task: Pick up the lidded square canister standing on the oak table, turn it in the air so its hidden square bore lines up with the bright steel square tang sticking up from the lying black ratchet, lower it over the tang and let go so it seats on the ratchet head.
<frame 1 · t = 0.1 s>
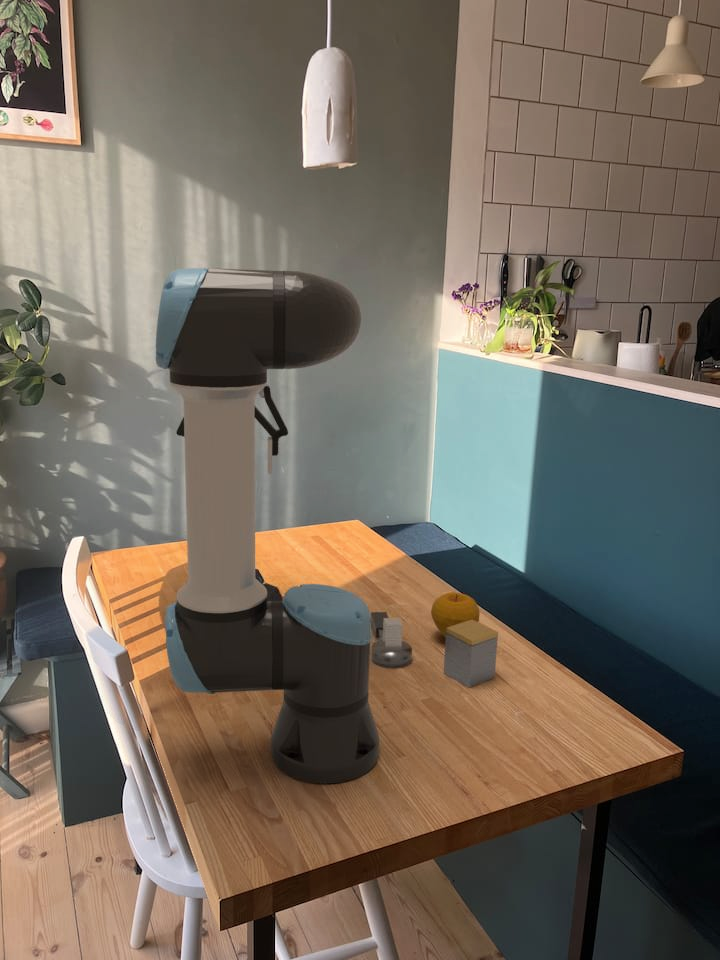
hand: (233, 472, 151), 28 cm above the table, fingers open, 13 cm apart
apple: (453, 640, 148), on the table
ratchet: (391, 658, 140), on the table
lidded square canister: (469, 675, 135), on the table
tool: (234, 649, 142), on the table
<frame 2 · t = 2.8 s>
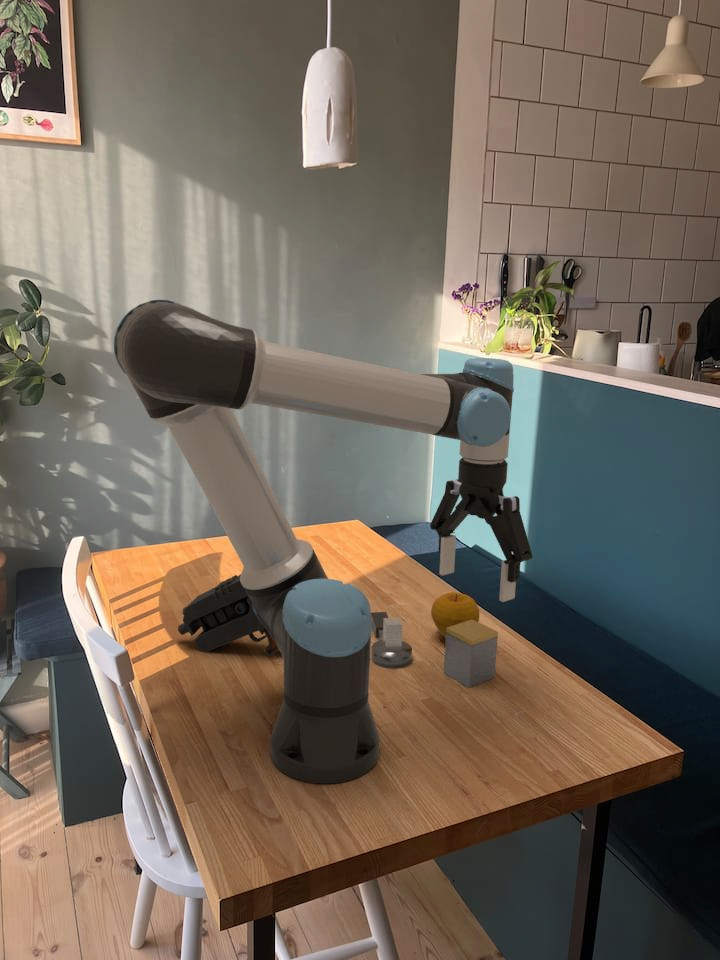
hand: (475, 586, 131), 16 cm above the table, fingers open, 13 cm apart
nothing on the table moved.
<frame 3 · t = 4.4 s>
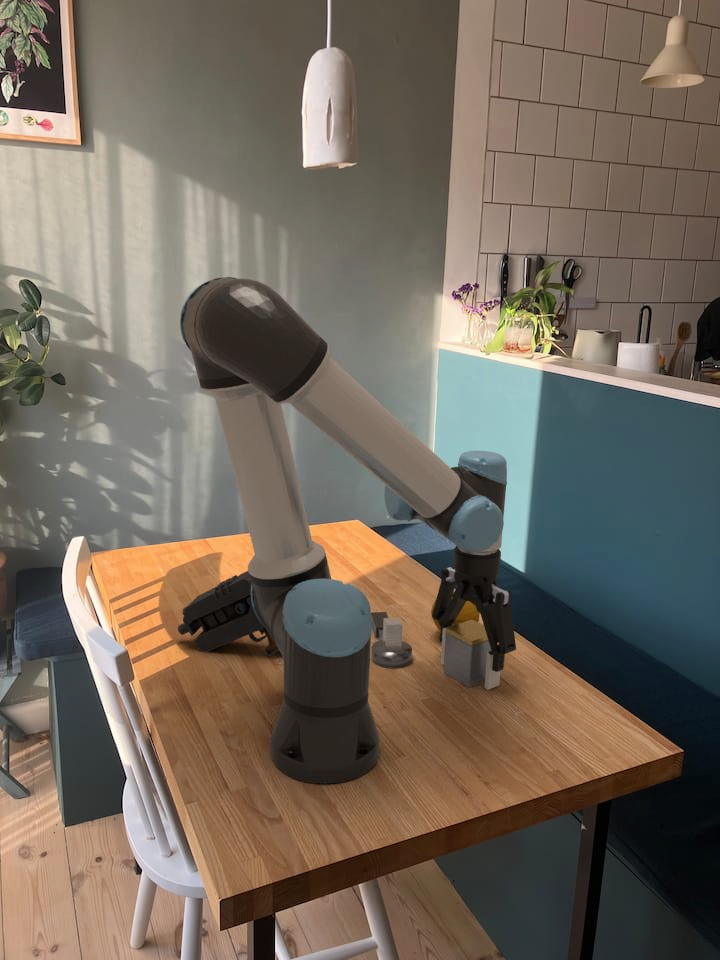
hand: (469, 674, 135), 0 cm above the table, fingers open, 10 cm apart
nothing on the table moved.
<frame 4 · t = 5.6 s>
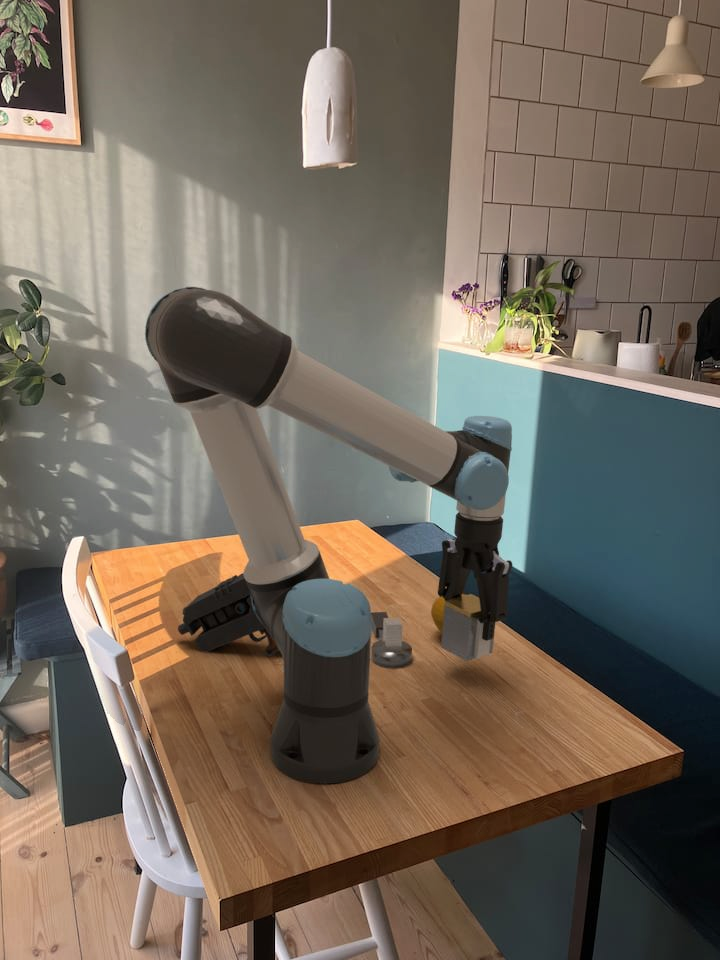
hand: (466, 648, 133), 5 cm above the table, fingers closed on lidded square canister, 6 cm apart
lidded square canister: (466, 649, 133), point 5 cm above the table, touching gripper
everything else where it was.
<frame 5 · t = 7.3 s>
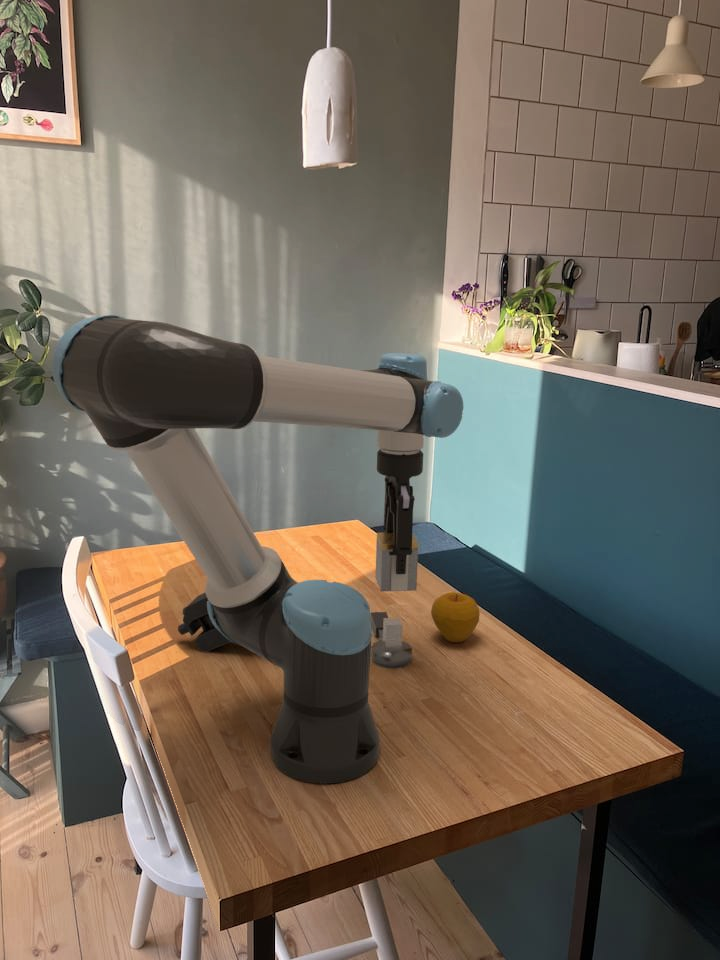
hand: (395, 582, 137), 14 cm above the table, fingers closed on lidded square canister, 6 cm apart
lidded square canister: (395, 584, 137), point 14 cm above the table, touching gripper
everything else where it was.
when the fingers open (4 cm above the table, at t = 9.1 s): lidded square canister drops 2 cm, resting on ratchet.
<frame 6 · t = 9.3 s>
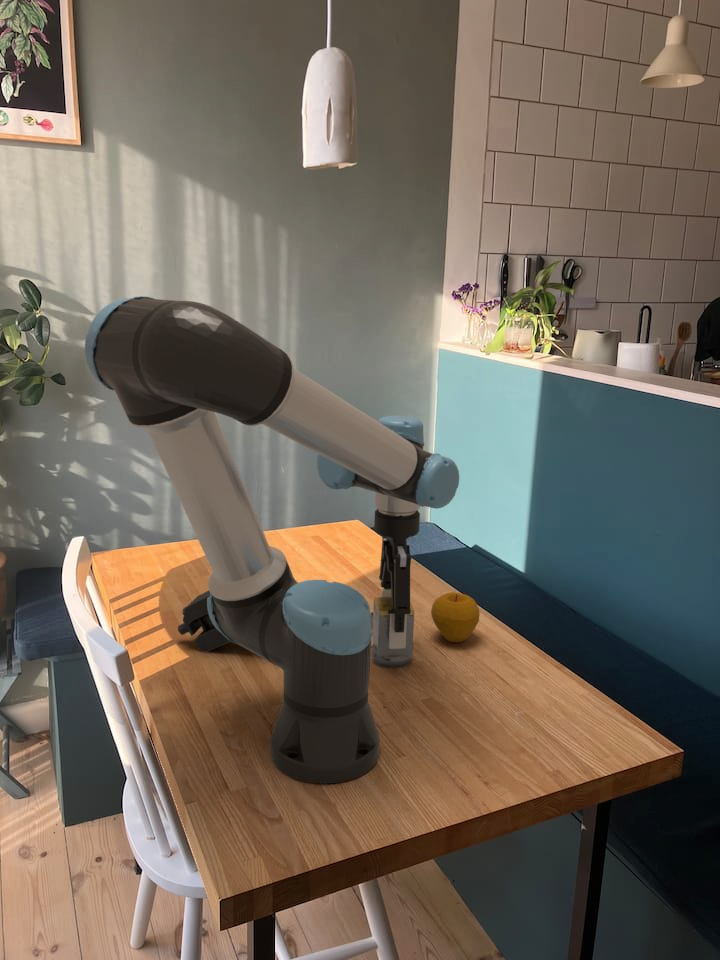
hand: (392, 635, 139), 4 cm above the table, fingers open, 9 cm apart
lidded square canister: (392, 648, 139), point 2 cm above the table, touching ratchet
everything else where it was.
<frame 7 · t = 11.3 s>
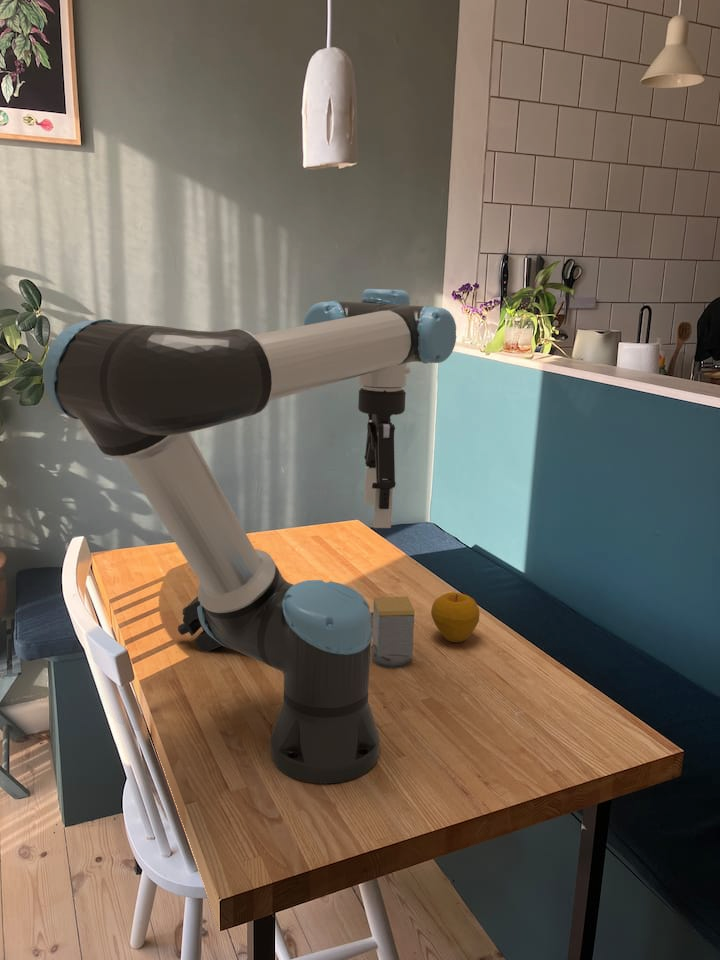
hand: (376, 515, 134), 26 cm above the table, fingers open, 13 cm apart
nothing on the table moved.
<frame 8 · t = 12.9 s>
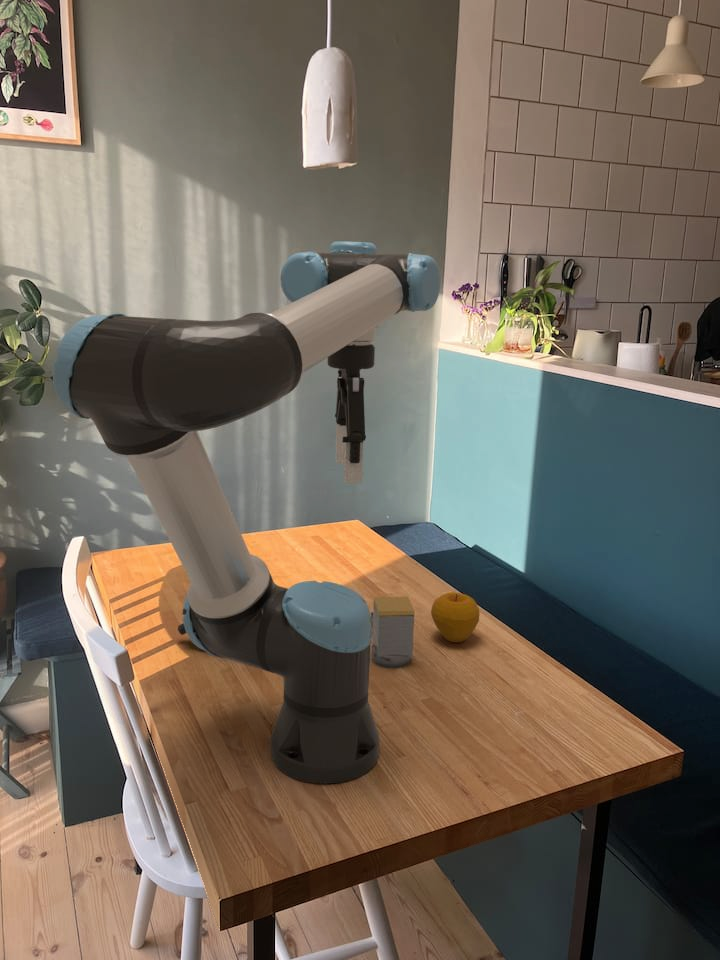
hand: (348, 472, 134), 33 cm above the table, fingers open, 13 cm apart
nothing on the table moved.
at the end: lidded square canister 0.0 cm off-centre on the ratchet, point 2.0 cm above the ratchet's base; lidded square canister tilted 0°; the gripper is holding nothing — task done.
